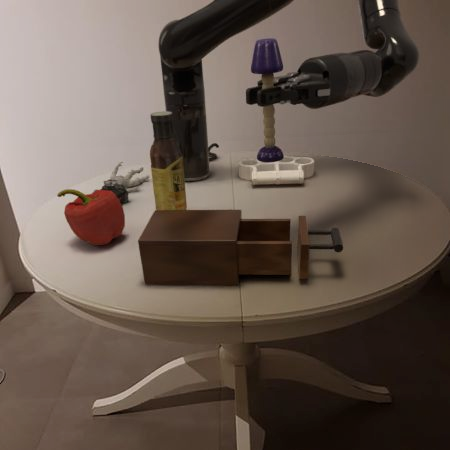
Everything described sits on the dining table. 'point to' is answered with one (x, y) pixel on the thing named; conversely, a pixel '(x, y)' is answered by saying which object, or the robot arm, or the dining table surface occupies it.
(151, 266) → the cabinet
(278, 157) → the toy lamp
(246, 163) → the white brass knuckles
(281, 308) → the dining table surface
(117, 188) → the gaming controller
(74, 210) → the vegetable
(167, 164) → the sauce bottle
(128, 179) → the grey branched piece
